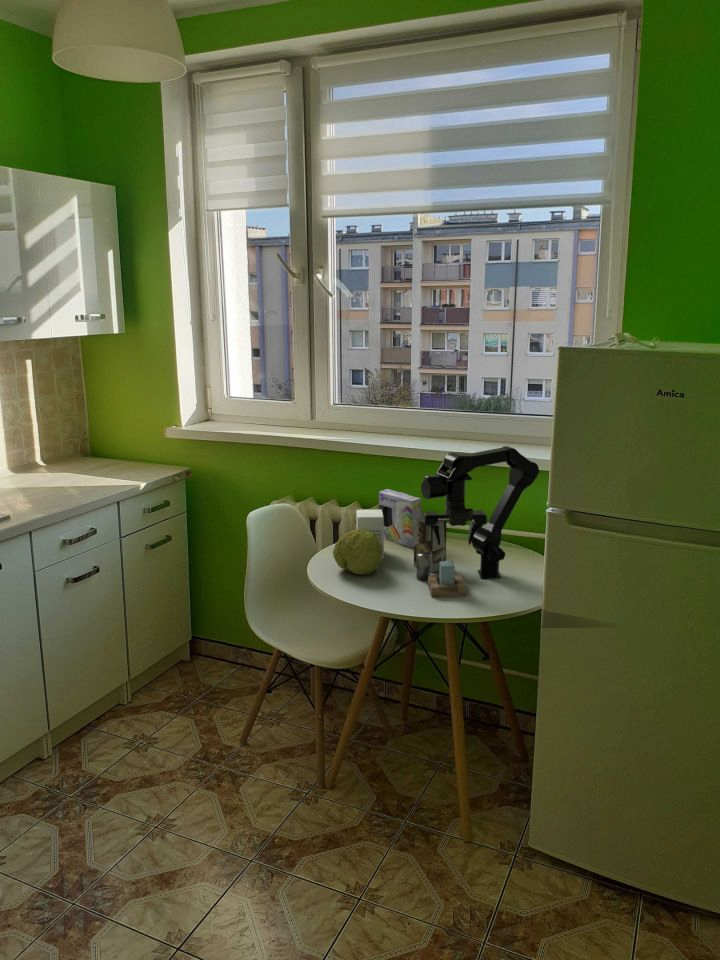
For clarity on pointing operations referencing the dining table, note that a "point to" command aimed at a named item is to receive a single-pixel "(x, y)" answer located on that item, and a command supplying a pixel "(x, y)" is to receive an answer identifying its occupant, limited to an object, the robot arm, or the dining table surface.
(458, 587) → the socket block
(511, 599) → the dining table surface
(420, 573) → the round peg
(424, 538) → the coffee box
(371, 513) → the supplement box
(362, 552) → the fruit
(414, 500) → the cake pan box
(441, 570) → the square peg
